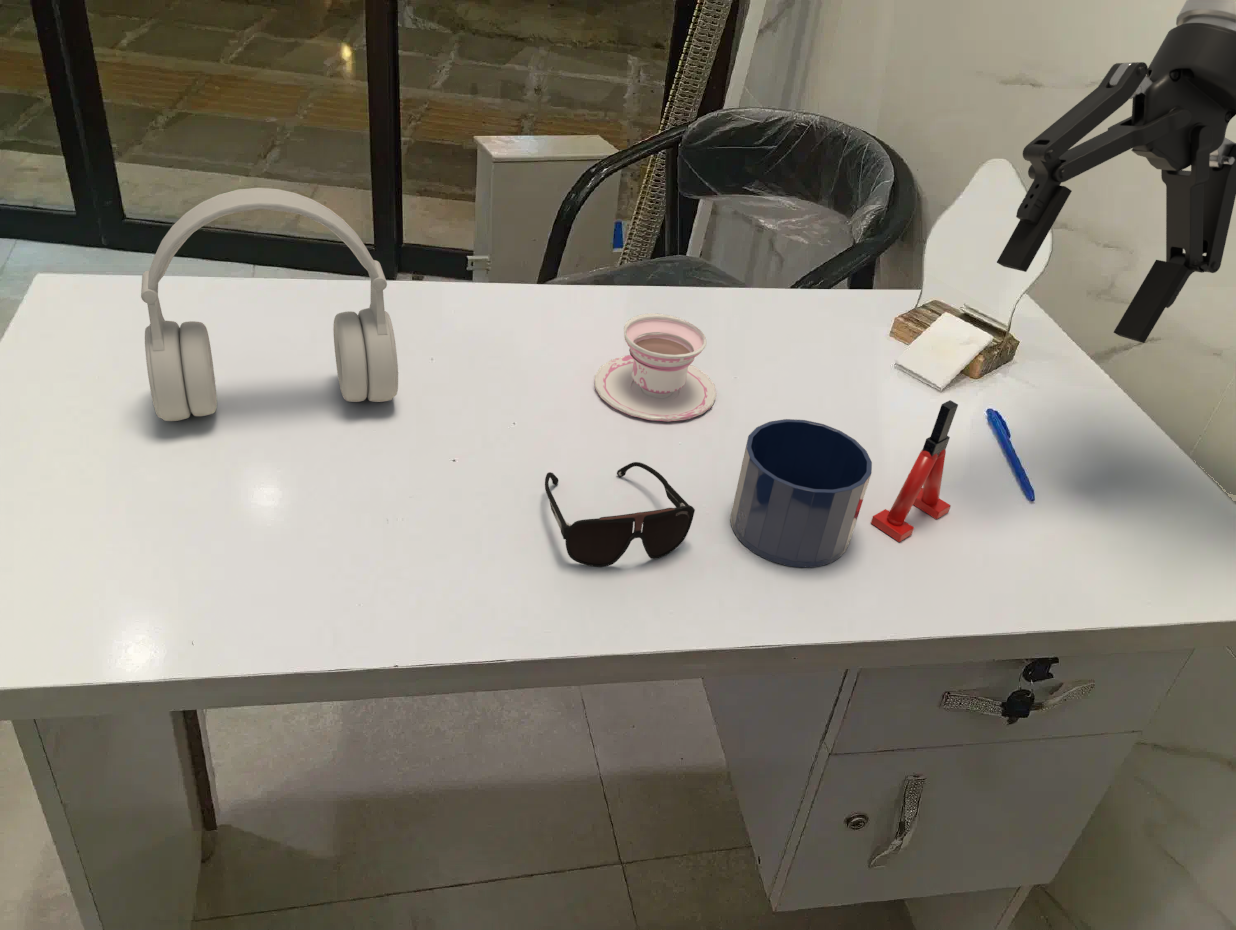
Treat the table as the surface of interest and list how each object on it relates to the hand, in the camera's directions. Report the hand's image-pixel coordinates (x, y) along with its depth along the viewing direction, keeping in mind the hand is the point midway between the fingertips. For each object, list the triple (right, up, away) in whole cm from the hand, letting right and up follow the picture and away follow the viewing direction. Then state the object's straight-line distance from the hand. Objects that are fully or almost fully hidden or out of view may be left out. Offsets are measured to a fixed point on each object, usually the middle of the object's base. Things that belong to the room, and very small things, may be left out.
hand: (1071, 304), depth 78 cm
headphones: (-66, -7, +11) cm, 67 cm away
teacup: (-32, -5, +20) cm, 38 cm away
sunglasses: (-36, -17, +2) cm, 40 cm away
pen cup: (-21, -18, +4) cm, 28 cm away
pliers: (-11, -17, +7) cm, 21 cm away
